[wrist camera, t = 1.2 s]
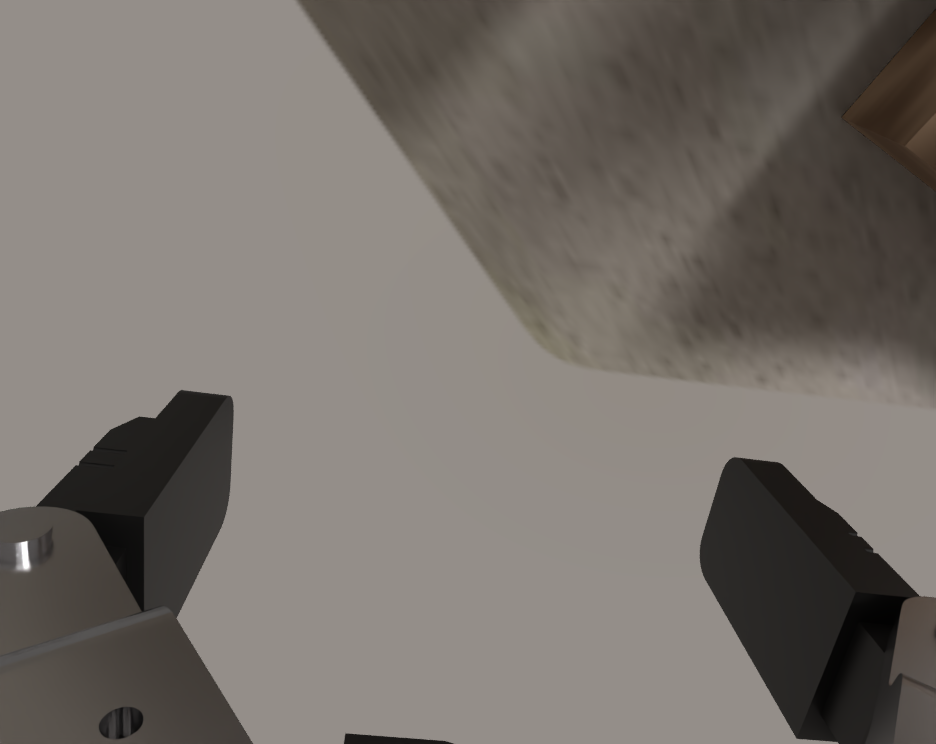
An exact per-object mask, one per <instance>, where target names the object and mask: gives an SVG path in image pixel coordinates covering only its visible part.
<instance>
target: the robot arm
mask: <svg viewBox="0 0 936 744" xmlns="http://www.w3.org/2000/svg"><path fill="white" fill-rule="evenodd" d="M232 434H233V400H232V398H231V396H226V395H218V394H209V393H201V392H192V391H184V390H181V391H179V392H178V393H177V394H176V396H175V397H174V398H173V399H172V400H171V401H170V402H169V403H168V405H167V406H166V407H165V408H164V409H163V410H162V411H161V413H160V414H159V415H158V416H157V417H156V418H147V417H138V418H135V419H133V420H131V421H129V422H127V423H124V424H122V425H120V426H118V427H116V428H113V429H111V430H110V431H109V432H108V433H107V434H106V435H105V436H104V437H103V438H102V439H101V440H100V441H99V442H98V443H97V444H96V445H95V446H94V449H93V451H89V453H87V454H86V455H85V457H84V458H83V459H82V460H81V461H80V463H79V466H77V465H76V466H75V467H74V468H73V469H72V470H71V471H70V472H69V473H68V474H67V475H66V476H65V477H64V478H63V479H62V480H61V481H60V482H59V483H58V484H57V485H56V486H55V488H53V489H52V490H51V491H50V492H49V493H48V494H47V495H46V496H45V498H44V499H43V500H42V501H41V502H40V503H39V504H38V505H37V506H36V507H24V508H16V509H10V510H6V511H2V512H0V744H253V743H252V741H251V740H250V738H249V736H248V735H247V733H246V731H245V730H244V728H243V726H242V725H241V723H240V722H239V720H238V718H237V717H236V715H235V713H234V712H233V710H232V709H231V707H230V705H229V704H228V702H227V700H226V699H225V697H224V695H223V694H222V692H221V690H220V689H219V688H218V686H217V684H216V682H215V681H214V679H213V677H212V676H211V674H210V673H209V671H208V669H207V668H206V666H205V664H204V663H203V661H202V659H201V658H200V656H199V655H198V653H197V651H196V650H195V648H194V646H193V645H192V644H191V641H190V640H189V638H188V637H187V635H186V633H185V632H184V630H183V628H182V627H181V625H180V623H179V622H178V620H177V619H176V618H177V616H178V614H179V612H180V610H181V608H182V606H183V604H184V602H185V600H186V598H187V596H188V594H189V591H190V589H191V588H192V586H193V584H194V582H195V579H196V577H197V575H198V573H199V571H200V569H201V567H202V565H203V563H204V561H205V559H206V557H207V555H208V553H209V551H210V549H211V547H212V545H213V543H214V541H215V539H216V537H217V535H218V533H219V531H220V529H221V527H222V524H223V521H224V518H225V514H226V510H227V506H228V501H229V492H230V479H231V457H232ZM700 563H701V569H702V573H703V576H704V578H705V580H706V581H707V583H708V585H709V586H710V588H711V590H712V592H713V594H714V595H715V597H716V599H717V601H718V602H719V604H720V606H721V607H722V609H723V611H724V613H725V615H726V616H727V618H728V620H729V621H730V623H731V625H732V627H733V628H734V630H735V632H736V634H737V635H738V637H739V639H740V641H741V642H742V644H743V646H744V647H745V649H746V651H747V653H748V655H749V656H750V658H751V659H752V662H753V663H754V665H755V667H756V669H757V670H758V672H759V674H760V675H761V677H762V679H763V681H764V682H765V684H766V686H767V688H768V689H769V691H770V693H771V695H772V696H773V698H774V700H775V702H776V703H777V705H778V706H779V709H780V710H781V712H782V714H783V716H784V717H785V719H786V721H787V723H788V724H789V726H790V728H791V730H792V731H793V733H794V735H795V736H796V738H797V739H808V740H820V741H833V742H838V743H839V744H936V598H933V597H920V596H919V595H918V594H917V593H916V592H915V591H914V590H913V589H912V588H911V587H910V586H909V585H908V584H907V583H906V582H905V581H904V580H903V579H902V578H901V577H900V576H899V575H898V574H897V573H896V572H895V571H894V570H893V569H892V567H890V565H889V564H888V563H887V562H886V561H885V560H884V559H883V558H881V556H880V555H879V554H877V553H873V548H872V547H871V546H870V545H869V544H868V543H867V542H866V541H865V540H864V539H863V538H862V537H858V536H857V532H856V531H855V530H854V529H853V528H852V527H851V526H850V525H849V524H848V523H847V522H846V521H845V520H844V519H843V518H842V517H841V516H840V515H839V514H838V513H837V512H835V511H834V510H832V509H830V508H829V507H827V506H826V505H824V504H823V503H821V502H819V501H818V500H816V499H815V498H814V497H813V495H812V494H811V493H810V492H809V491H808V490H807V489H806V488H805V487H804V486H803V485H802V484H801V483H800V482H799V481H798V480H797V479H796V478H795V477H794V476H793V475H792V474H791V473H790V472H789V471H788V470H787V469H786V468H785V467H784V466H783V465H782V464H781V463H778V462H770V461H762V460H753V459H745V458H732V459H730V460H729V461H728V462H727V463H726V465H725V467H724V469H723V471H722V474H721V477H720V481H719V484H718V487H717V490H716V494H715V497H714V500H713V503H712V507H711V510H710V514H709V517H708V520H707V523H706V526H705V530H704V533H703V536H702V540H701V545H700ZM344 744H453V743H449V742H446V741H437V740H424V739H410V738H396V737H384V736H371V735H357V734H345V741H344Z"/></svg>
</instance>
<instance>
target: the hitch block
mask: <svg viewBox="0 0 936 744" xmlns="http://www.w3.org/2000/svg"><path fill="white" fill-rule="evenodd" d="M842 119H844V120H845V121H846V122H848V123H849V124H850V125H851V126H853V127H854V128H855V129H857V130H858V131H859V132H860V133H862V134H863V135H864V136H866V137H867V138H868V139H869V140H871V141H872V142H873V143H874V144H876V145H877V146H878V147H880V148H881V149H882V150H883V151H885V152H886V153H887V154H889V155H890V156H891V157H892V158H894V159H895V160H896V161H897V162H899V163H900V164H901V165H903V166H904V167H905V168H906V169H908V170H909V171H910V172H912V173H913V174H914V175H915V176H917V177H918V178H919V179H920V180H922V181H923V182H924V183H926V184H927V185H928V186H929V187H931V188H932V189H933V190H935V191H936V9H935V10H934V12H933V13H932V14H931V15H930V16H929V17H928V18H927V20H926V21H925V22H924V23H923V24H922V25H921V27H920V28H919V29H918V30H917V31H916V32H915V33H914V35H913V36H912V37H911V38H910V39H909V40H908V42H907V43H906V44H905V45H904V46H903V47H902V48H901V50H900V51H899V52H898V53H897V54H896V55H895V56H894V58H893V59H892V60H891V61H890V62H889V63H888V65H887V66H886V67H885V68H884V69H883V70H882V71H881V73H880V74H879V75H878V76H877V77H876V78H875V80H874V81H873V82H872V83H871V84H870V85H869V86H868V88H867V89H866V90H865V91H864V92H863V93H862V95H861V96H860V97H859V98H858V99H857V100H856V101H855V103H854V104H853V105H852V106H851V107H850V108H849V109H848V111H847V112H846V113H845V114H844V115H843V116H842Z"/></svg>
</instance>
